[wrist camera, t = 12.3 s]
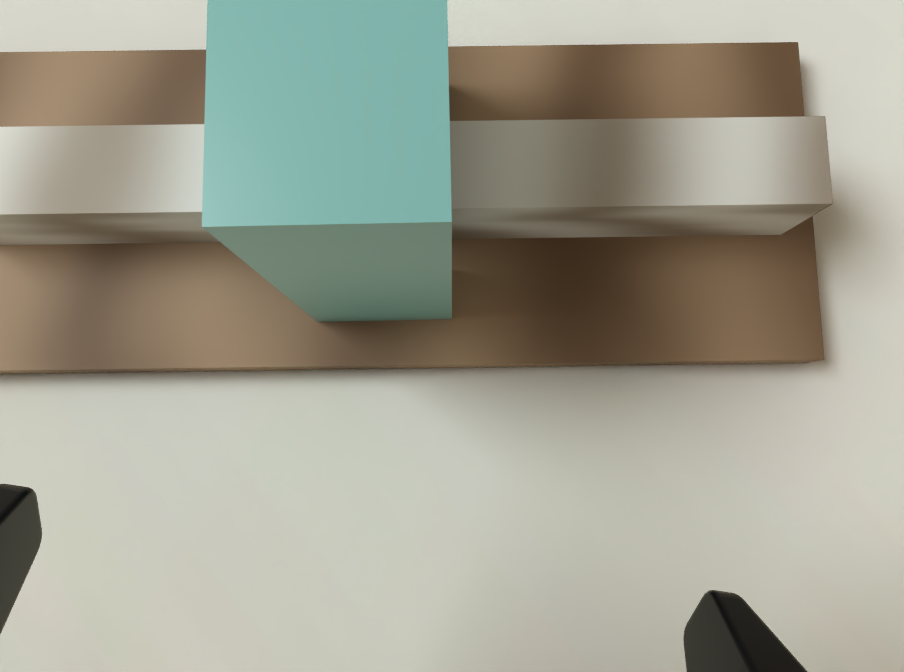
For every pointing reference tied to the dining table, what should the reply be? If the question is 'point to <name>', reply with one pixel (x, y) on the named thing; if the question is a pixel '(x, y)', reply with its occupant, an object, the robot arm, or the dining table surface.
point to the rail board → (482, 275)
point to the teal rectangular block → (333, 152)
